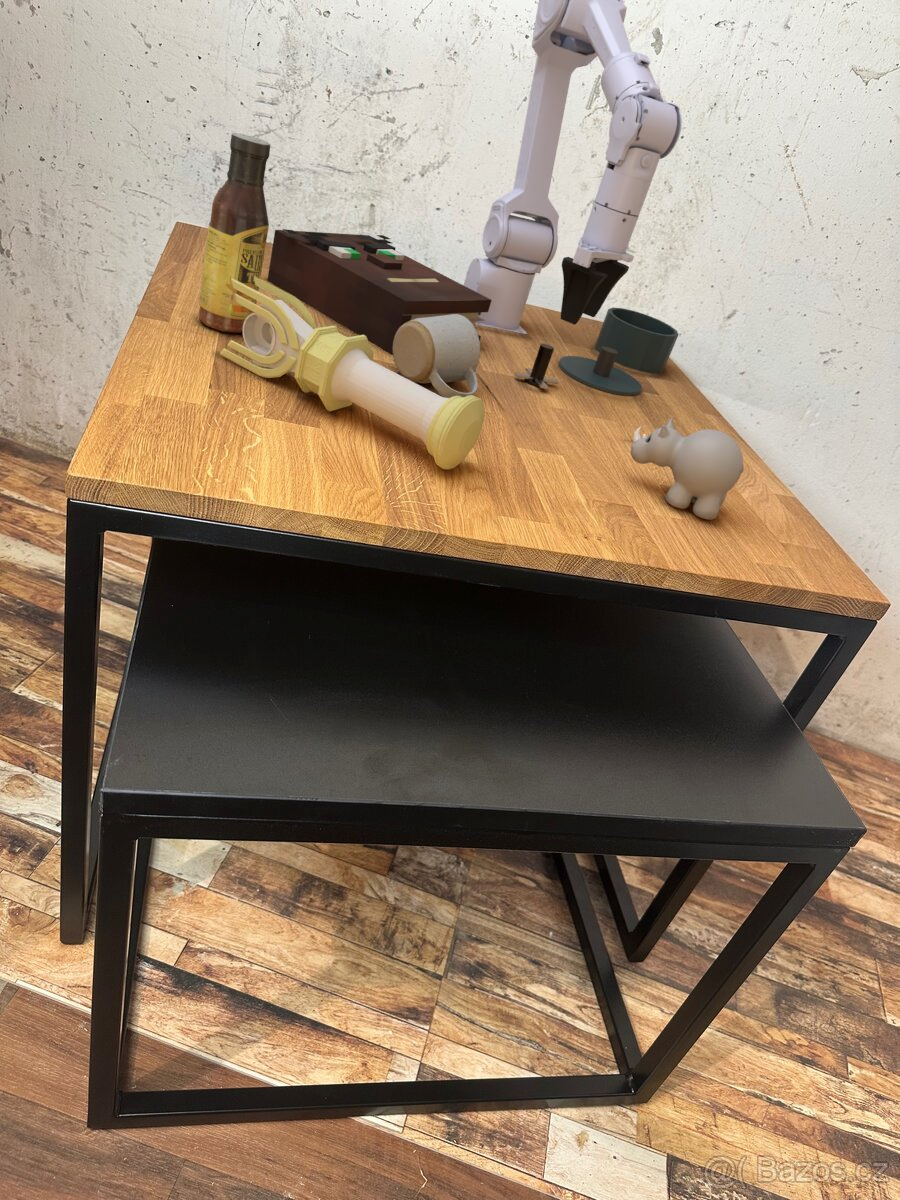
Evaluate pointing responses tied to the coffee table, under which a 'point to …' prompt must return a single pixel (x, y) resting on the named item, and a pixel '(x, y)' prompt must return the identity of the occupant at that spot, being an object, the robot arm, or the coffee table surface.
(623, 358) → the bowl
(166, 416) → the coffee table surface
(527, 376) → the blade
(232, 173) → the sauce bottle
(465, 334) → the ceramic mug
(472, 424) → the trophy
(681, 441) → the chubby cartoon animal
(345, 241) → the dark brown wooden box
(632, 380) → the lid
